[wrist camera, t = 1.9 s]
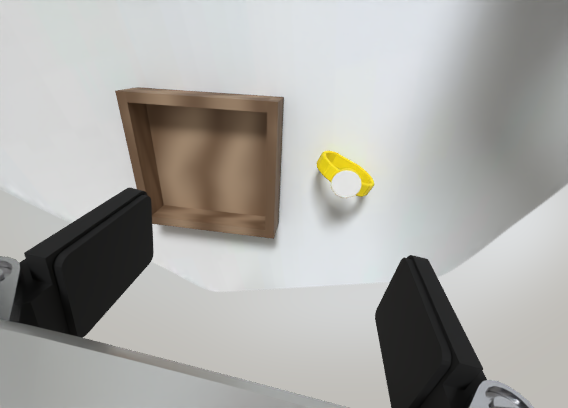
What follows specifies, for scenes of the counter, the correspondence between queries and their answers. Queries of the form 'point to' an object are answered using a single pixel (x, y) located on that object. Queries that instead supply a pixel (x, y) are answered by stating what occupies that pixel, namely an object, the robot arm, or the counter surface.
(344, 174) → the watch
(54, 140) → the counter surface
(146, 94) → the box
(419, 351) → the robot arm
